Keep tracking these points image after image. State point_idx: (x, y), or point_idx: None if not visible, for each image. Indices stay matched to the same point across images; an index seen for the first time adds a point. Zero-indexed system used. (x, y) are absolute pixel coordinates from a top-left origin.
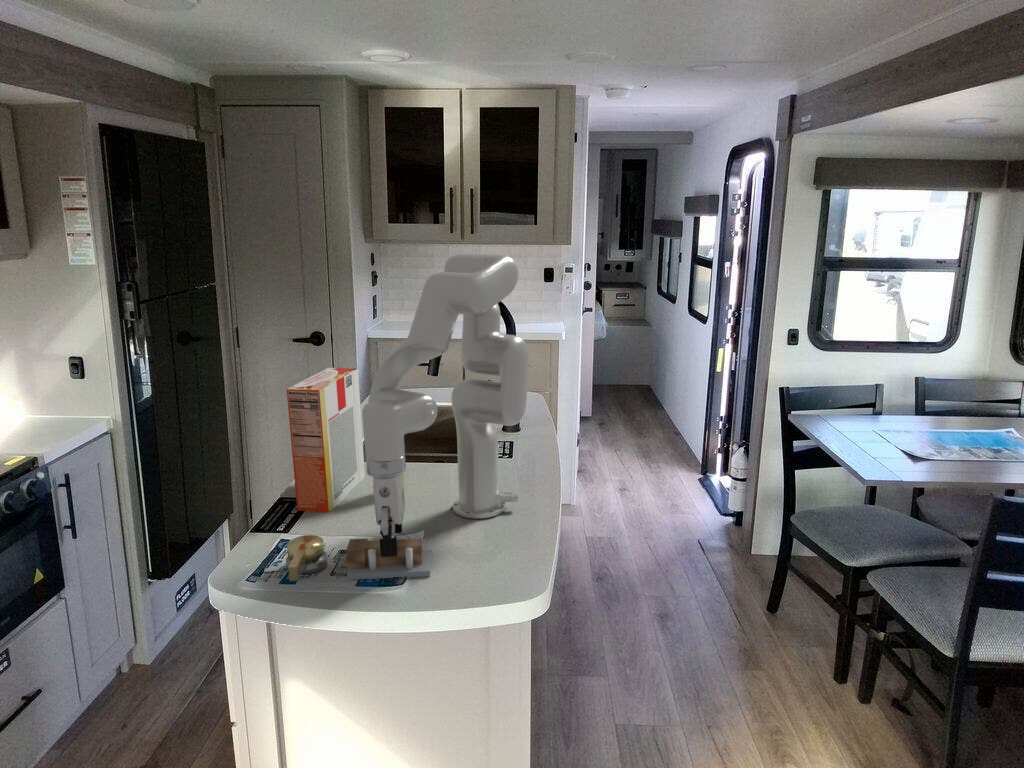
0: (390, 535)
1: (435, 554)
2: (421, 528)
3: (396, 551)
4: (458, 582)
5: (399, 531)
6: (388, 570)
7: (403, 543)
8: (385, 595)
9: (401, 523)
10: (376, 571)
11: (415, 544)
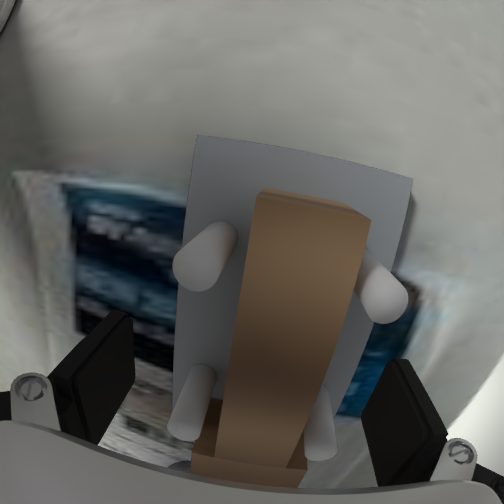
0: (491, 472)
1: (201, 123)
2: (5, 181)
3: (414, 374)
4: (461, 86)
5: (129, 329)
6: (349, 347)
7: (299, 328)
8: (455, 343)
9: (99, 341)
10: (338, 384)
11: (340, 256)
